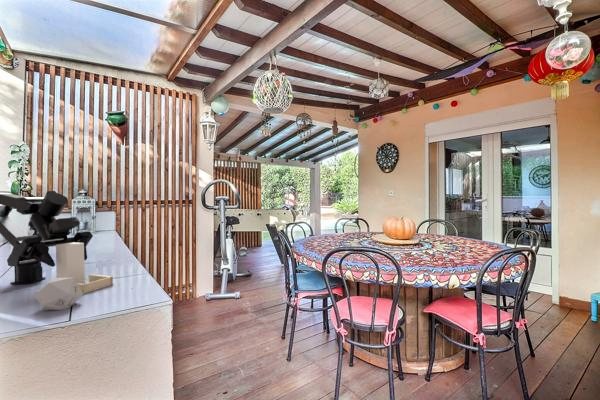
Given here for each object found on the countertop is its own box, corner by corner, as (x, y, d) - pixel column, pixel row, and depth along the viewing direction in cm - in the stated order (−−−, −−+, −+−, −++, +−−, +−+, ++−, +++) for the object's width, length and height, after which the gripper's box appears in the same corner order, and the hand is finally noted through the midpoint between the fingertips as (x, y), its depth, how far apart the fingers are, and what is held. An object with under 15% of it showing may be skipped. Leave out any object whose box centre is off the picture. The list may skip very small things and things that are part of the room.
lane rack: (44, 291, 87) (44, 280, 87) (79, 282, 96) (79, 272, 96) (81, 297, 81) (80, 285, 81) (114, 286, 91) (114, 276, 91)
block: (57, 286, 89) (55, 244, 89) (74, 282, 94) (73, 242, 93) (67, 288, 87) (66, 245, 87) (84, 283, 92) (83, 242, 92)
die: (43, 322, 66) (74, 285, 69) (17, 302, 68) (48, 266, 71) (69, 320, 74) (96, 287, 77) (46, 302, 75) (73, 270, 78)
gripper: (22, 210, 83) (46, 250, 79) (88, 208, 101) (111, 240, 97) (6, 236, 86) (30, 276, 82) (74, 229, 103) (96, 262, 100)
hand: (70, 262), depth 90 cm, fingers open, 9 cm apart
